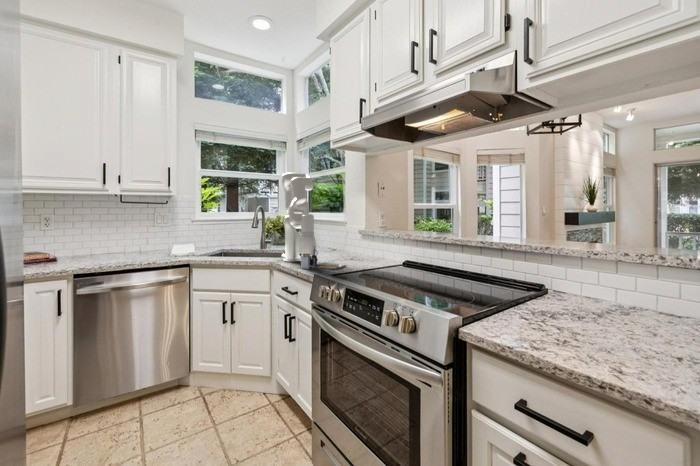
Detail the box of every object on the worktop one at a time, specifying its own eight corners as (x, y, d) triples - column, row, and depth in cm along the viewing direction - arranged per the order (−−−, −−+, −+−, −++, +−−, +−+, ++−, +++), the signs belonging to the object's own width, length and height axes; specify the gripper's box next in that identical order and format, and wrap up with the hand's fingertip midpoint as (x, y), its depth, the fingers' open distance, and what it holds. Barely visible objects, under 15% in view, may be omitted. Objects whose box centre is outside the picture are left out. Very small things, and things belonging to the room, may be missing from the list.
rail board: (317, 268, 196) (317, 264, 196) (329, 265, 209) (329, 261, 209) (334, 270, 191) (334, 265, 191) (346, 266, 203) (346, 262, 203)
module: (301, 268, 196) (300, 255, 196) (307, 266, 203) (307, 253, 202) (307, 269, 194) (307, 255, 194) (314, 267, 200) (314, 254, 200)
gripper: (292, 234, 198) (292, 264, 199) (315, 235, 190) (316, 266, 191) (299, 234, 204) (300, 263, 205) (323, 234, 196) (323, 265, 198)
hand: (307, 264), depth 198 cm, fingers closed on module, 5 cm apart
